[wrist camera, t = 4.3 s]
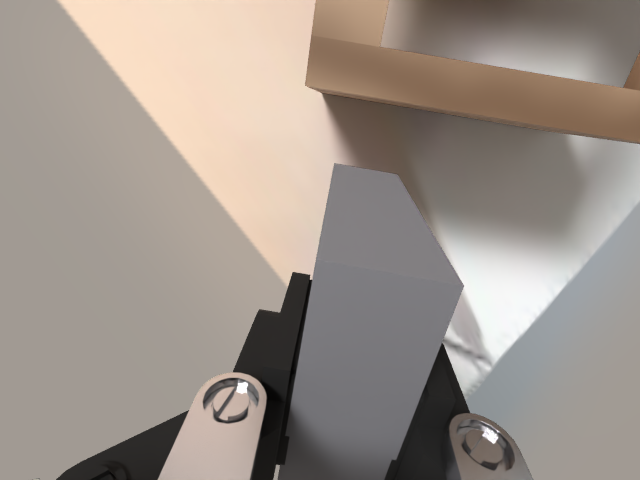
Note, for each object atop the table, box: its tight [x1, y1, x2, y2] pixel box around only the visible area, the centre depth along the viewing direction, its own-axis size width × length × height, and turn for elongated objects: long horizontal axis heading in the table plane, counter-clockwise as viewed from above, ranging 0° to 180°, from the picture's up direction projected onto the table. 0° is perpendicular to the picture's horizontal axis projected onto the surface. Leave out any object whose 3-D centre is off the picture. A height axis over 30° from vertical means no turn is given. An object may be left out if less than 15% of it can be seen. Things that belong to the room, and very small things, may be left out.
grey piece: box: [278, 163, 464, 480], centre depth 11 cm, size 8×2×8 cm, turn 171°
